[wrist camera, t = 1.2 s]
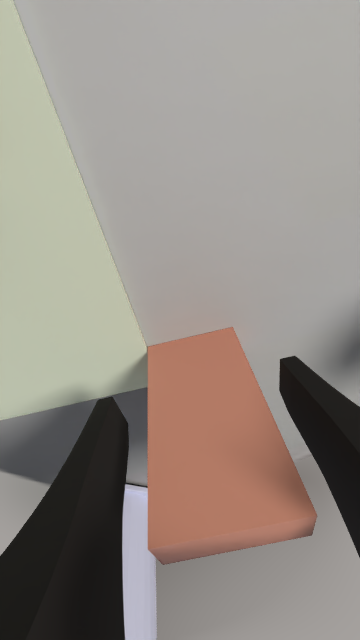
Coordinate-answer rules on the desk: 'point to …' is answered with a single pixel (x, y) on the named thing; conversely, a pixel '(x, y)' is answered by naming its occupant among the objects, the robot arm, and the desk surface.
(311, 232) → the desk surface
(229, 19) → the desk surface
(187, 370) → the domino
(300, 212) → the desk surface
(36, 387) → the runner mat
